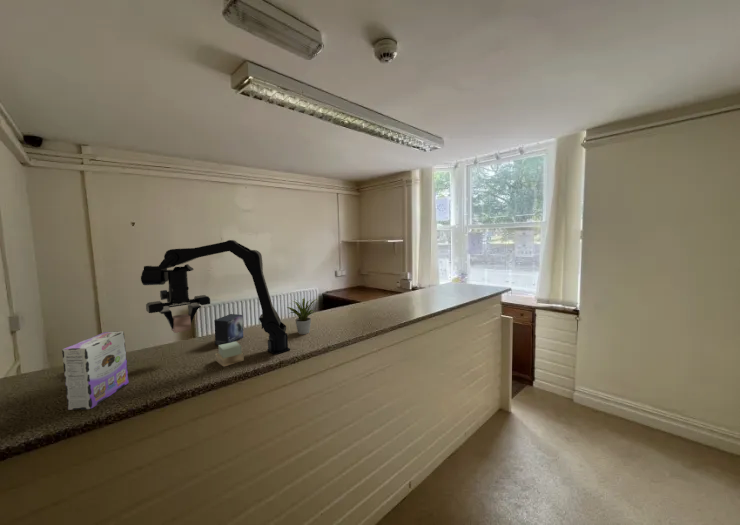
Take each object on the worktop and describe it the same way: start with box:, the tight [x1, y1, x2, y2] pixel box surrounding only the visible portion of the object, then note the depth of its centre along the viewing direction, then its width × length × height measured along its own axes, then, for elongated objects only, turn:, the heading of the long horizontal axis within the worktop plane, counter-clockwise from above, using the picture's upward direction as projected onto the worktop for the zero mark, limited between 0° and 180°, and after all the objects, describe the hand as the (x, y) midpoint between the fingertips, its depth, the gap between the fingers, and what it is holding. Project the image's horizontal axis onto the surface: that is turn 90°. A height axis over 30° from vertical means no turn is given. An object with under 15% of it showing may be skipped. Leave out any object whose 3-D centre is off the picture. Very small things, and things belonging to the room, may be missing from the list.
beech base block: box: [215, 352, 245, 367], centre depth 106 cm, size 7×7×3 cm
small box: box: [214, 313, 244, 346], centre depth 126 cm, size 11×6×10 cm, turn 168°
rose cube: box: [170, 313, 192, 334], centre depth 107 cm, size 5×5×5 cm
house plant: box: [286, 297, 318, 335], centre depth 137 cm, size 14×14×16 cm
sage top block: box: [217, 341, 243, 359], centre depth 106 cm, size 6×6×3 cm
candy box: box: [61, 330, 129, 411], centre depth 82 cm, size 14×6×16 cm, turn 5°
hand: (181, 327), depth 107 cm, fingers closed on rose cube, 5 cm apart
